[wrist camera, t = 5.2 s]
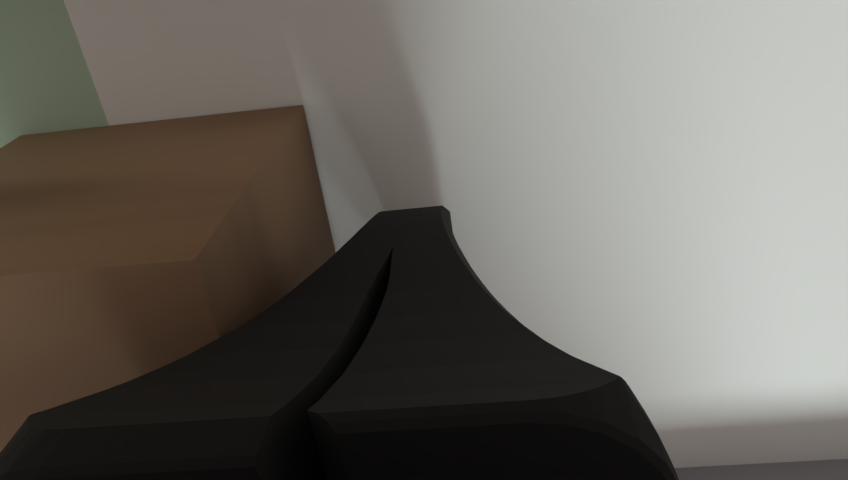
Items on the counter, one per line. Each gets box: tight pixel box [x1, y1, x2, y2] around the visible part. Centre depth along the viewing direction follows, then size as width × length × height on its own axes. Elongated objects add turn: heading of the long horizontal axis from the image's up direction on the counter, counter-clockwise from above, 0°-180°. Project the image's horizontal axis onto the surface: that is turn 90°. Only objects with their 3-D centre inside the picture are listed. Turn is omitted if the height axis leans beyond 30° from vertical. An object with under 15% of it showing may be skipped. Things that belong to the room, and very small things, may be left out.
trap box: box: [0, 0, 848, 480], centre depth 13 cm, size 13×34×4 cm, turn 98°
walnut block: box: [0, 105, 335, 452], centre depth 11 cm, size 5×5×5 cm
